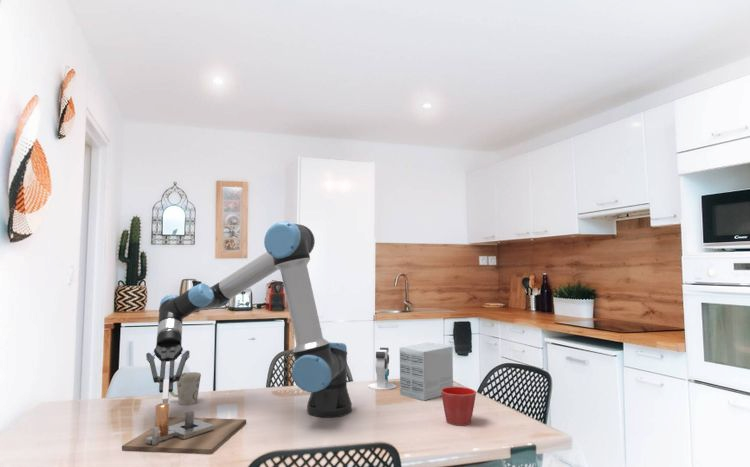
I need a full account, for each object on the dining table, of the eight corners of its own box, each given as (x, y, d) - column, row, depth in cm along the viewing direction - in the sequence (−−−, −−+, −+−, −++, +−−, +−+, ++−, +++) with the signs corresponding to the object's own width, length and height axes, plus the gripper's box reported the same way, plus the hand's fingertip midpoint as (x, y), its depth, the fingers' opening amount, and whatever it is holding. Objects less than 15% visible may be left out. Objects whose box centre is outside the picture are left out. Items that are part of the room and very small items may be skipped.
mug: (191, 406, 170) (192, 377, 171) (159, 404, 173) (160, 376, 173) (204, 400, 178) (205, 372, 179) (174, 398, 181) (174, 371, 182)
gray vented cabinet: (428, 386, 198) (427, 342, 200) (454, 393, 189) (453, 346, 190) (398, 394, 187) (398, 346, 188) (424, 401, 177) (424, 351, 178)
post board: (246, 423, 152) (246, 401, 153) (211, 454, 127) (212, 428, 128) (170, 420, 155) (170, 399, 155) (121, 450, 130) (122, 425, 130)
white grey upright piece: (393, 391, 191) (393, 352, 192) (365, 389, 193) (365, 351, 194) (397, 383, 203) (397, 347, 204) (371, 382, 205) (371, 346, 206)
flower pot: (454, 414, 161) (454, 384, 162) (482, 421, 154) (482, 390, 154) (434, 421, 154) (434, 390, 155) (463, 429, 146) (462, 396, 147)
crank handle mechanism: (194, 422, 148) (194, 392, 149) (214, 429, 142) (215, 397, 143) (137, 439, 134) (139, 405, 134) (157, 447, 128) (159, 411, 129)
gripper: (190, 341, 164) (188, 405, 147) (148, 344, 159) (141, 410, 142) (190, 327, 159) (189, 392, 142) (147, 329, 155) (140, 396, 138)
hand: (165, 401), depth 142 cm, fingers closed
